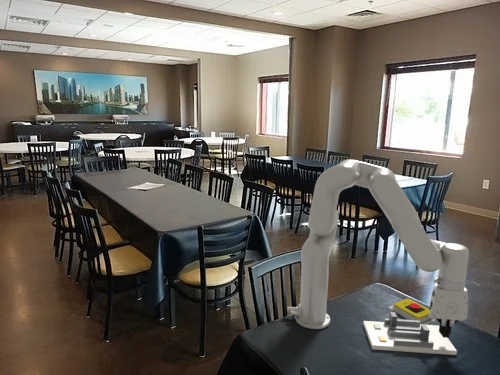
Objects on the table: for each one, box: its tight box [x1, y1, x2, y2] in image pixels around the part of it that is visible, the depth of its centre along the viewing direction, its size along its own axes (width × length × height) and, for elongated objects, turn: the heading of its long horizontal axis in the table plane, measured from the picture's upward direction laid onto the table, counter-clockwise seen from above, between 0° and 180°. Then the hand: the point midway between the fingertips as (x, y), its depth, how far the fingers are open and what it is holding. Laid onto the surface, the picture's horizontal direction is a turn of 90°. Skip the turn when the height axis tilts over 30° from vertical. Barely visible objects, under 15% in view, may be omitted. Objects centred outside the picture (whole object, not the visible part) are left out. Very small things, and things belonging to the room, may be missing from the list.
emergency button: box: [388, 298, 437, 325], centre depth 140 cm, size 9×4×15 cm
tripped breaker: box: [420, 325, 430, 341], centre depth 120 cm, size 2×3×5 cm, turn 175°
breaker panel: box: [362, 317, 458, 356], centre depth 124 cm, size 26×14×3 cm, turn 85°
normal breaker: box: [388, 311, 398, 327], centre depth 127 cm, size 2×3×5 cm, turn 174°
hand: (444, 335), depth 119 cm, fingers closed
